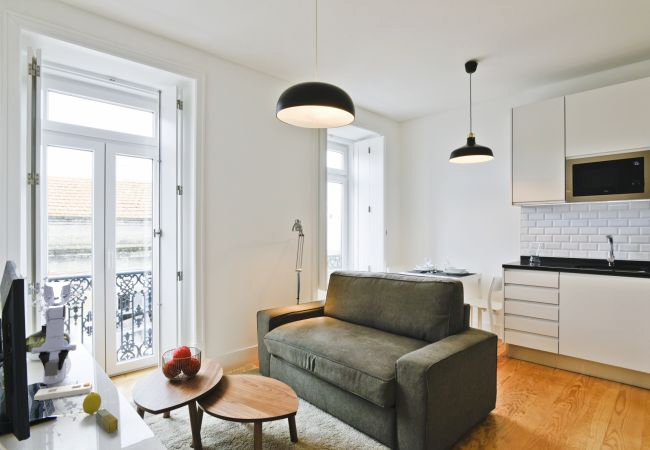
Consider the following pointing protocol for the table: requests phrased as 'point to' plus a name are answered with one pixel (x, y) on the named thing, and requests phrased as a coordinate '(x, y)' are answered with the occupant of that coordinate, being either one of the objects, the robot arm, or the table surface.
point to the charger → (52, 369)
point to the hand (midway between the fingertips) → (53, 370)
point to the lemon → (91, 403)
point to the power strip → (63, 391)
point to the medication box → (107, 420)
